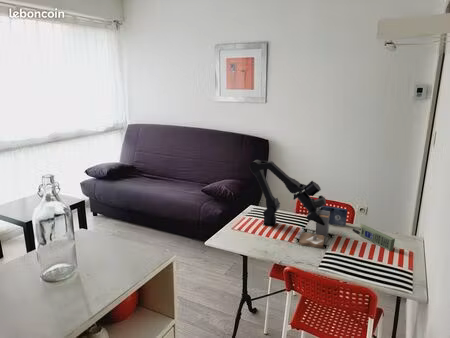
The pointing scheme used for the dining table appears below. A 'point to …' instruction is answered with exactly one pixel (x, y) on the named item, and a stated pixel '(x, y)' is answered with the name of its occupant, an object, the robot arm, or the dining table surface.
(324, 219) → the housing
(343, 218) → the vhs cassette tape
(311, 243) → the board
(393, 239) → the handheld radio
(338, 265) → the dining table surface
